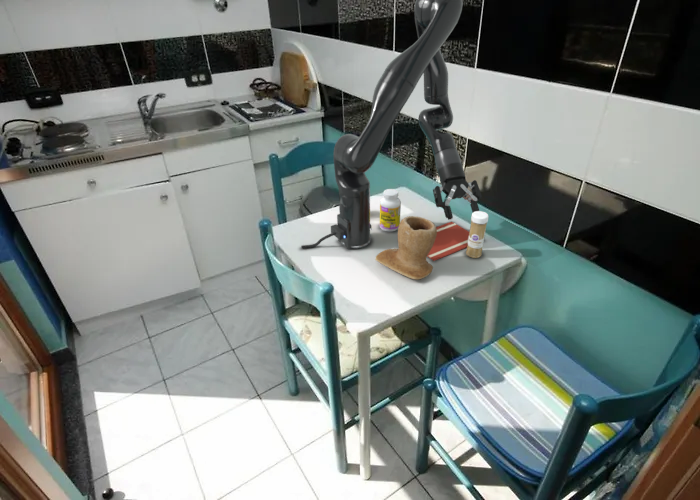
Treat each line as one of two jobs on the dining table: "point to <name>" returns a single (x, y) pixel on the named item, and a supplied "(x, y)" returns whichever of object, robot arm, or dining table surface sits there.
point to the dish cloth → (448, 240)
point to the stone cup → (411, 248)
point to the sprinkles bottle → (477, 234)
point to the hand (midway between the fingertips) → (463, 216)
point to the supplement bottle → (390, 210)
